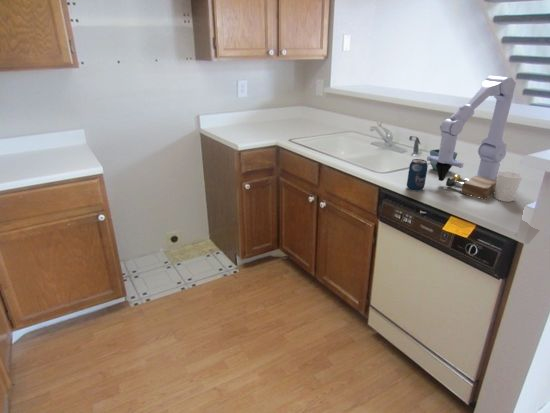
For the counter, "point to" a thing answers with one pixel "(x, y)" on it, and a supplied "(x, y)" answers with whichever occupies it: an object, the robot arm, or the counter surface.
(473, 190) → the catch block
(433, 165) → the flower pot
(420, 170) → the soda can
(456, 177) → the plunger
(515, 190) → the white cup
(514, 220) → the counter surface
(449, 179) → the plunger
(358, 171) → the counter surface
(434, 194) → the counter surface
